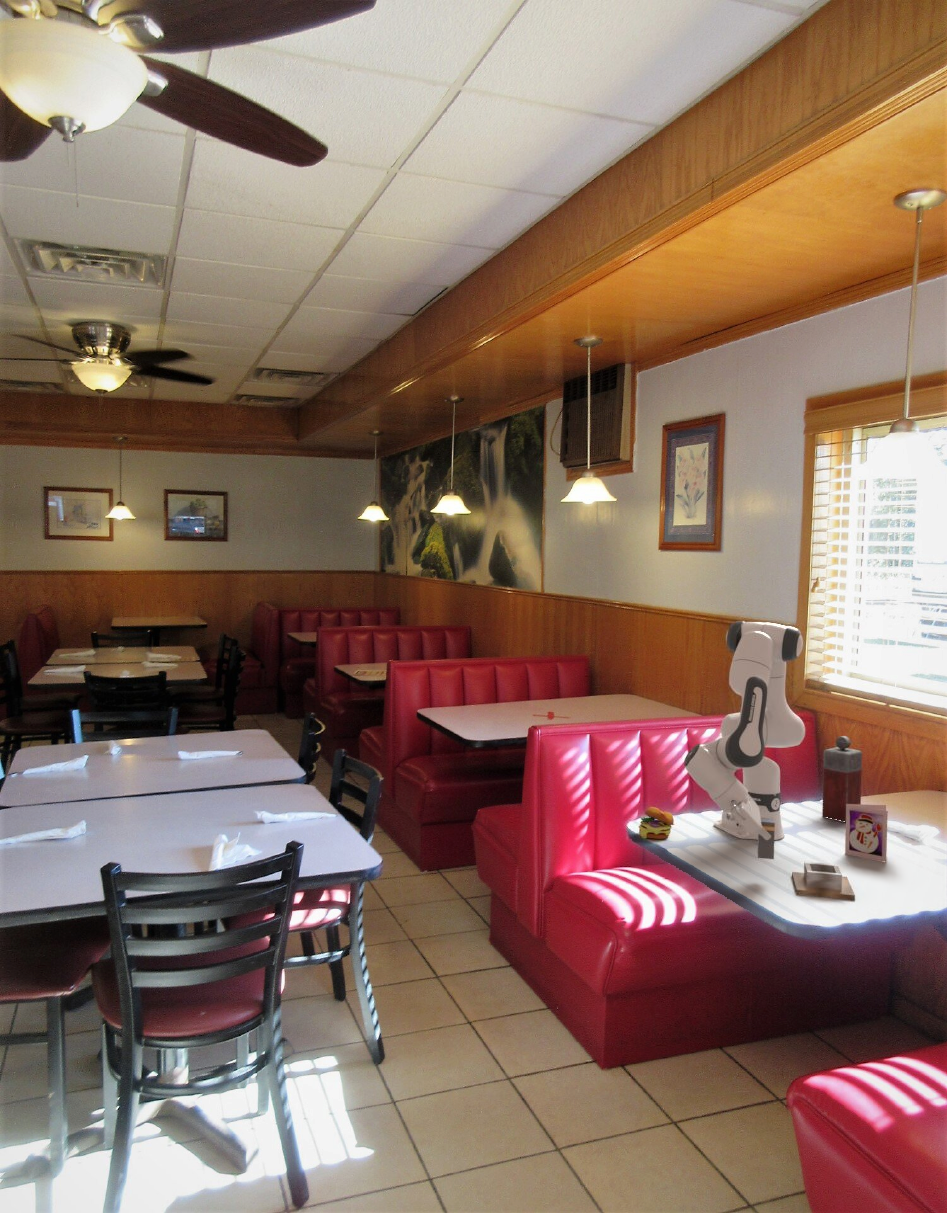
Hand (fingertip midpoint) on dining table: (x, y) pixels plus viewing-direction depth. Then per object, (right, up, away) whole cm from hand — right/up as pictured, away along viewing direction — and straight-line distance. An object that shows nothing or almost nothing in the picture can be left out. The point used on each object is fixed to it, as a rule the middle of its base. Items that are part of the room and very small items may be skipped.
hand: (768, 834), depth 236 cm
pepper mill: (+46, -10, +61) cm, 78 cm away
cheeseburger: (-23, -11, +40) cm, 47 cm away
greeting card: (+37, -12, +22) cm, 44 cm away
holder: (+13, -13, -5) cm, 19 cm away
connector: (-1, -6, +1) cm, 6 cm away
